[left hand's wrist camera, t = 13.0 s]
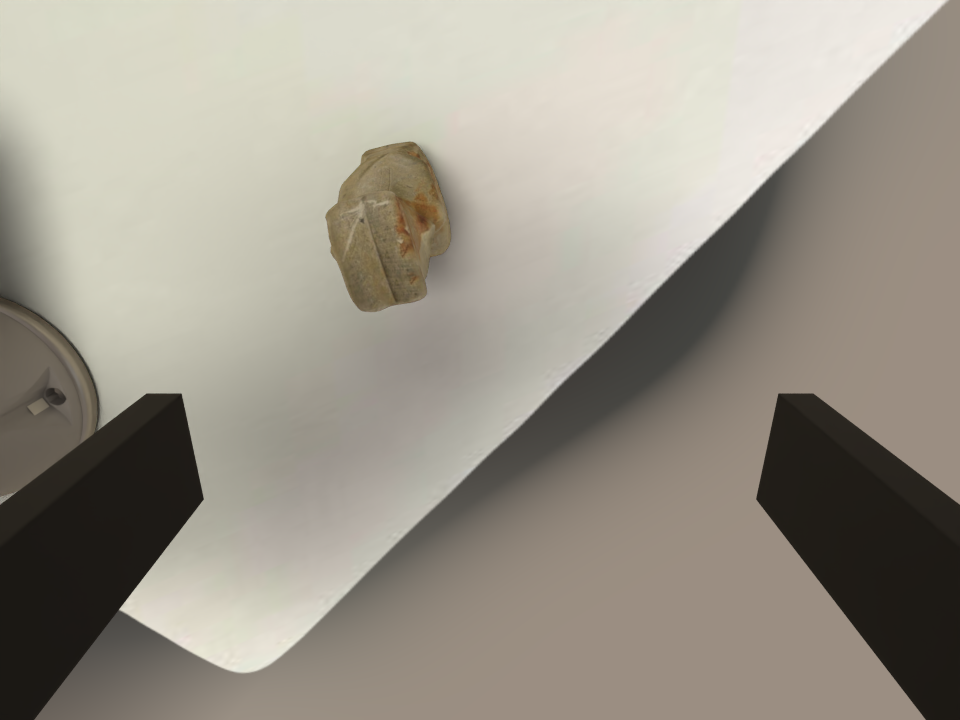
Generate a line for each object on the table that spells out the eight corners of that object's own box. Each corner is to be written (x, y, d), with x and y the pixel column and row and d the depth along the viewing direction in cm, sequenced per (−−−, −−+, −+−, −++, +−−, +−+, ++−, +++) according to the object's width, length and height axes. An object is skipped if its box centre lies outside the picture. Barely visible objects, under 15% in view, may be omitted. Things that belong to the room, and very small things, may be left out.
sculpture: (379, 262, 39) (323, 330, 25) (353, 151, 36) (274, 159, 22) (463, 248, 38) (453, 309, 24) (443, 135, 36) (419, 133, 22)
